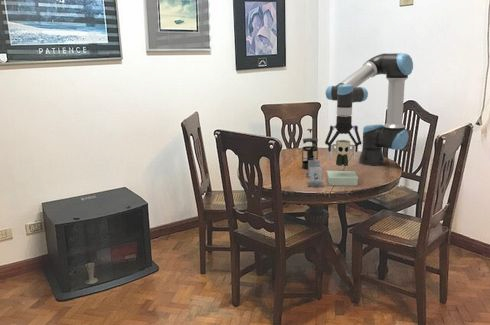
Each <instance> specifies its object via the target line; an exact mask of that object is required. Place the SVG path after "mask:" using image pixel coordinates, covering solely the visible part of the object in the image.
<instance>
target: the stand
mask: <svg viewBox="0 0 490 325" xmlns="http://www.w3.org/2000/svg"><path fill="white" fill-rule="evenodd" d="M326 178H327V182H328V185H329V186H341V187H342V186H344V187H345V186H347V187H350V186H351V187H352V186H354V187H355V186H357V187H358V183H359V182H358V180H359V176H358V175H357V173H356V171H355V170H326Z"/></svg>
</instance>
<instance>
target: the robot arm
mask: <svg viewBox="0 0 490 325" xmlns="http://www.w3.org/2000/svg"><path fill="white" fill-rule="evenodd" d="M413 69H414V62H413V59H412V57H411V55H410V54H408V53H402V52H399V53H398V52H397V53H381V54H378V55H375V56H373V57H371V58H369V59H368V60H367V61H365V62H364V63H363V64H362V66H361V67H360V68H358V69H357V70H356V71H354V72H353V73H351V74H350V75H349V76H347V77H346V78H345V79H343V80H342V81H341V82H339V83H337V84H336V85H330V86H328V87H327V88H326V89H325V97H326V99H327V100H329V101H332V102H333V101H335V102H336V120H335V121H336V122H335V125H329V131H328V133H327V136H326V139H325V141H324V144H325V145H327V146H328V148H327V149H328V150H327V151H328V152H329V158H330V159H333V150H332V147H333V146H332V145H333V143H334V142H335V140H336V139H337V138H338V136H339V135H348V136H349V137H350V139H351V140H352V142H353V143H354V144H353V145H354V150H353V151H352V159H353V160H354V159H356V153H357V152H358V149H359V148H358V147H359V146H361V145H362V146H361V147H362V148H361V151H360V155H359V157H358V163H359V164H362V165H365V166H366V165H367V166H382V165H384V164H385V157H384V156H385V155H384V153H383V149H390V150H397V151H399V150H403V149H404V148H405V147H406V145H407V144H408V140H409V132H408V131H407V130H406V128H405V125H404V124H403V114H404V113H403V112H404V100H405V83H406V80H408V77H409V76H410V75H411V74H412V71H413ZM378 75H385V79H386V80H387V81H388V86H387V105H386V106H387V107H386V108H387V109H386V123H385V124H370V125H368V124H367V125H364V127H363V130H362V140H361V137H360V134H359V131H358V130H359V129H358V128H359V127H358V125H352V121H353V120H352V118H353V117H352V115H353V103H362V102H365V101H366V100H367V99H368V97H369V92H368V90H367V88H365V87H363V86H360V85H362V84H363V83H364V82H366V81H367V80H368V79H370V78H374V77H375V76H378ZM352 129H353V131H354V133H355V136H356V139H357V140H356V139H355V137H354V135H353V134H352V133H351V130H352ZM334 130H336V132H335V133H334V134H333V135H332V133H333V131H334ZM331 136H332V138H331Z"/></svg>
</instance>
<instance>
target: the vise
mask: <svg viewBox="0 0 490 325" xmlns="http://www.w3.org/2000/svg"><path fill="white" fill-rule="evenodd" d="M320 163H321V161H320V159H318V160H317V159H313V160H308V169H307V172H305V178H309V181H307V187H310V188H311V187H312V188H324V187H325V184H324V182H323V180H322V179H323V167H322V166H320V165H321V164H320Z"/></svg>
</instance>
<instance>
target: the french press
mask: <svg viewBox="0 0 490 325" xmlns="http://www.w3.org/2000/svg"><path fill="white" fill-rule="evenodd" d="M314 130H315V129H313V128H307V129H306V131H309V137H305V138H302V142H303V144H306V143H309V145H306V146H303V147H302V149H301V150H302V151H301V152H302V153H301V155H302V156H301V159H302V160H301V164H302V165H301V169H304V170H308V160H319V159H318V158H319V156H318V155H319V154H318V153H319V152H318V150H319V149H318V147H317V146H314V145H317V144H318V141H319V139H318V138H312V135H311V134H312V131H314ZM311 143H312V144H314V145H311ZM304 152H306V155H304ZM314 152H316V155H314Z"/></svg>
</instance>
